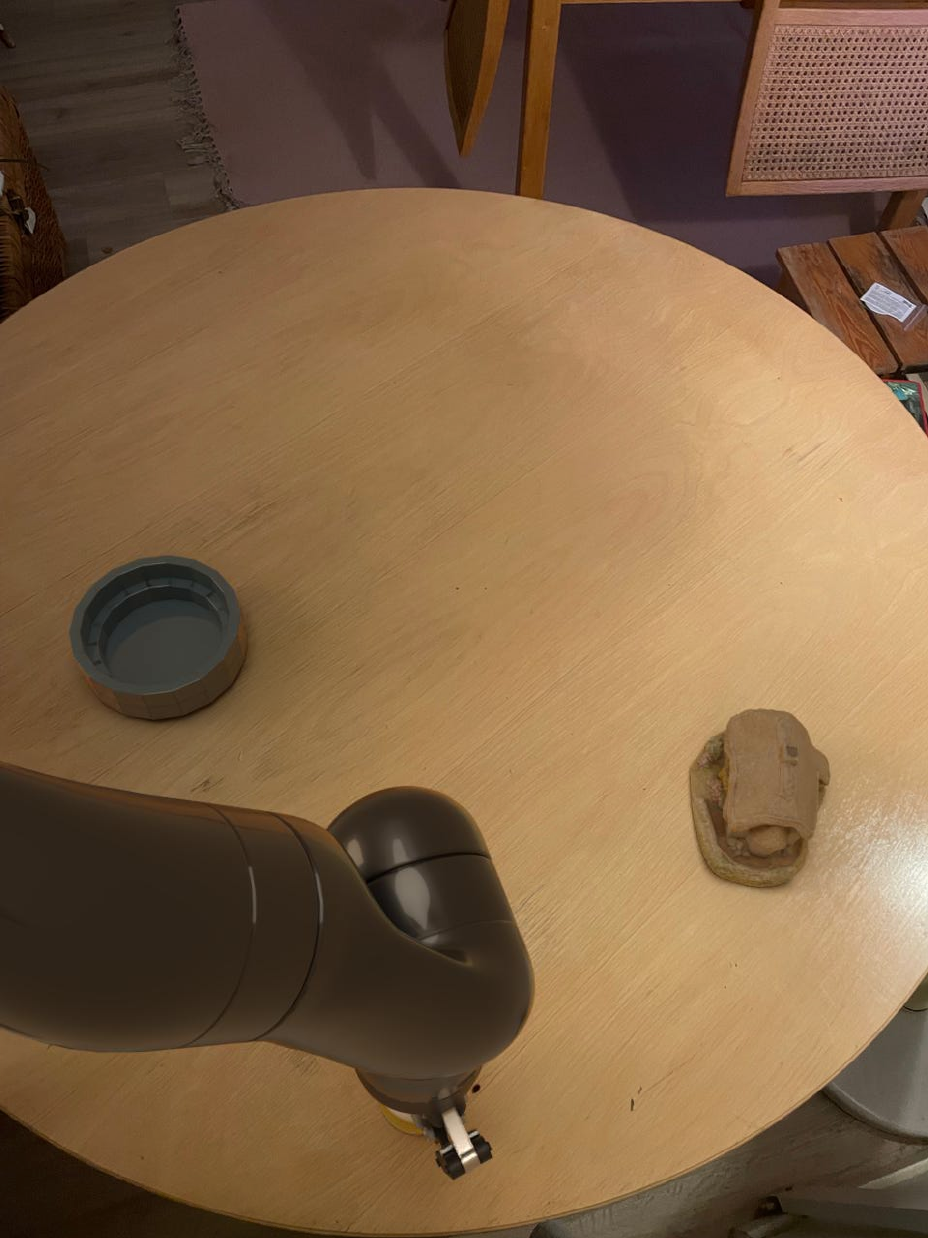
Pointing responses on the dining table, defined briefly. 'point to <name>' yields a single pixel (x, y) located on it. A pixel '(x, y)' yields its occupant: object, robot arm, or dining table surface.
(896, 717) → the dining table surface
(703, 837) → the ceramic model
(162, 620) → the bowl
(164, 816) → the robot arm
